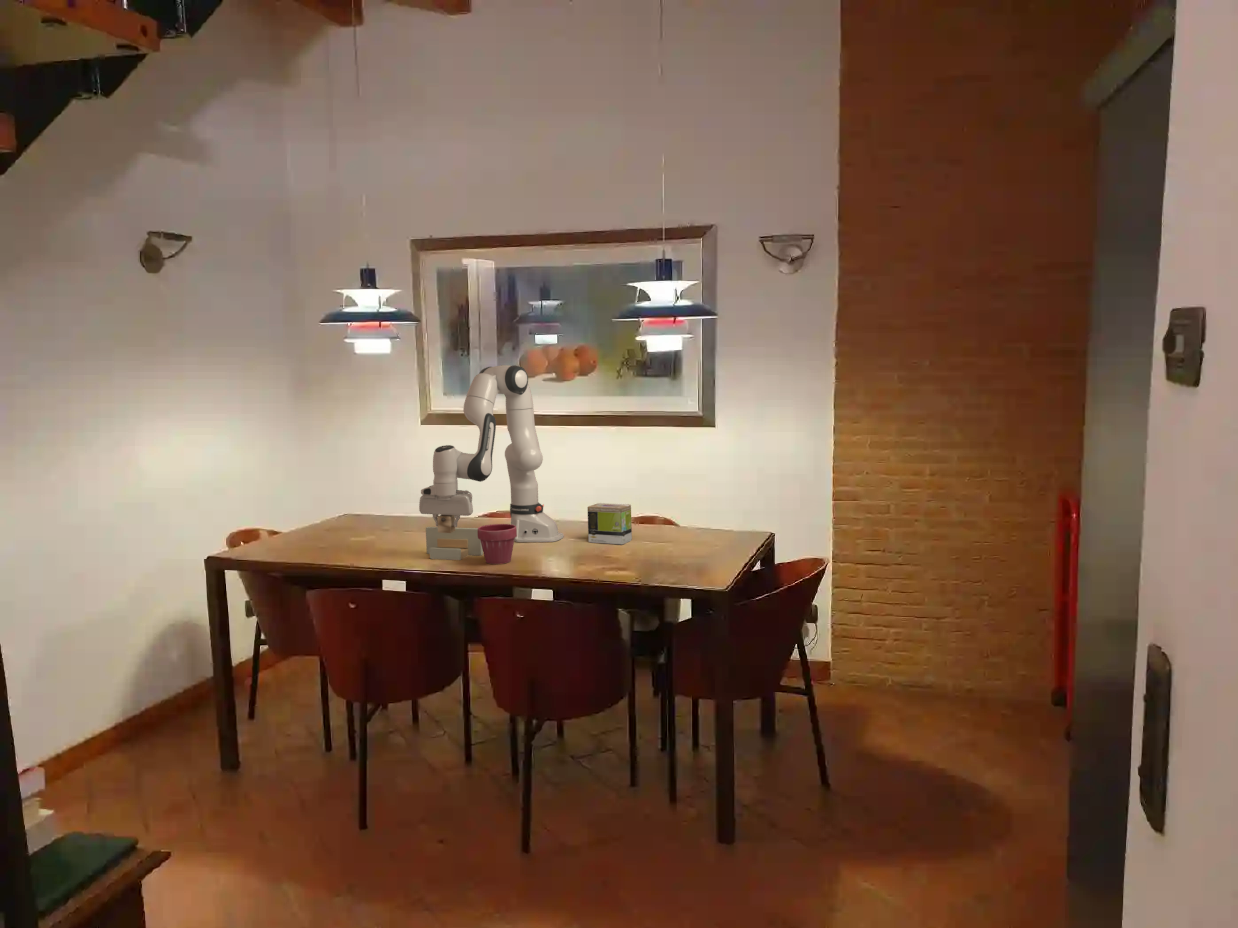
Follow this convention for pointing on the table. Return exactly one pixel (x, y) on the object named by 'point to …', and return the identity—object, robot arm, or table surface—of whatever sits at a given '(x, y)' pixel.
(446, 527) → the cabinet block
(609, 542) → the tea box
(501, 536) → the plant pot
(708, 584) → the table surface
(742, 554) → the table surface
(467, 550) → the grey boxy piece
